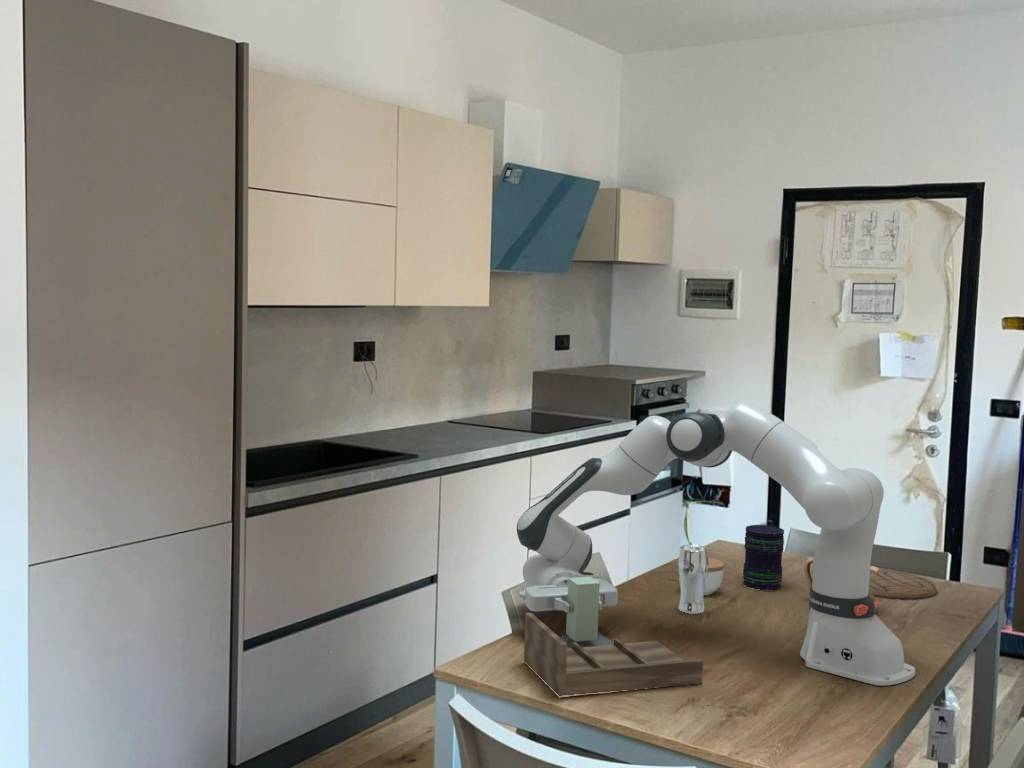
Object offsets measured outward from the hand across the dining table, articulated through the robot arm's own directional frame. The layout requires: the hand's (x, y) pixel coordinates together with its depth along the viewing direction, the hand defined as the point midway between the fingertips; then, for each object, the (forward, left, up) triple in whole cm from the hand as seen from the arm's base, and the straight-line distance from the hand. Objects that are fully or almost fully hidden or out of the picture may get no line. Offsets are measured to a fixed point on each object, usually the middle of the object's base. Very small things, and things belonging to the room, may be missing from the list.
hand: (584, 607), depth 210 cm
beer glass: (+4, -39, -8) cm, 40 cm away
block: (+1, 0, -6) cm, 7 cm away
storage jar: (+8, -71, -8) cm, 72 cm away
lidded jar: (+13, -53, -8) cm, 55 cm away
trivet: (-10, -99, -9) cm, 100 cm away
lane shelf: (-15, +5, -8) cm, 18 cm away
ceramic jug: (-14, -72, -9) cm, 74 cm away
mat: (+1, 0, -8) cm, 8 cm away
